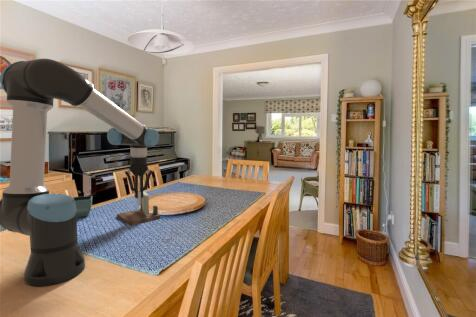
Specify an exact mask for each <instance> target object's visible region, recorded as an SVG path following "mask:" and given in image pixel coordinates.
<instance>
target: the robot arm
mask: <svg viewBox="0 0 476 317" xmlns="http://www.w3.org/2000/svg"><path fill="white" fill-rule="evenodd" d="M0 87H1V89H2V90H3V91H4V92H5V94H6V103H7V104H8V105H9V106H11V107H12V121H11V122H12V124H11V144H10V146H11V147H10V150H11V151H10V166H9V167H10V168H9V169H10V170H9V171H10V172H9V185H8V186H7V187H6V188H4V189H3V190H2V198H1V199H0V227H1V228H3V229H5V230H7V231H8V232H12V233H19V234H20V235H21V234H22V235H25V236H28V237H29V246H30V254H29V256H28V261H27V264H26V267H25V269H24V273H23V274H24V276H23V277H24V283H25V284H26V285H28V286H31V287H47V286H53V285H57V284H60V283H63V282H66V281H68V280H71V279H73V278H75V277H76V276H78V275H79V274H81V273H82V272H83V271H84V269H86V268H85V267H86V259H85V256H84V255H83V253H82V252H83V251H82V250H81V248H80V246H79V242H78V224H77V220H78V219H77V218H78V217H77V216H76V213H77V209H76V203H75V200H74V199H73V197H72V196H71V195H68V194H63V193H57V194H56V193H50V189H49V187H47V186H46V185H45V165H46V164H45V163H46V146H47V142H46V141H47V123H48V122H47V121H48V112H49V111H50V110H52V109H54V99H55V100H60V101H63V102H66V103H67V104H69V105H71V106H73V107H80V108H82V109H83V110H84V111H86V112H88V113H89V114H90V115H93V116H94V117H96V118H97V119H99V120H100V121H102V122H103V123H105V124H107V125H108V126H110V127H111V128H109V129H108V131H107V134H106V135H107V136H106V139H107V142H108V143H109V144H110V145H112V146H114V145H115V146H130V147H129V149H130V154H129V155H130V159H129V160H130V162H129V163H130V166H129V168H128V170H125V171H124V174H125V176H126V178H127V181H128V184H129V188H130V190H131V191H132V192H134V199H136V200H137V202H136V203H137V204H136V205H137V206H140V205H141V198H143V191H147V190H148V187H149V183H150V179H151V175H152V174H153V170H151V169H150V168H149V167H148V157H147V156H148V147H153V146H156V145H157V144H158V143H159V140H160V135H159V134H160V133H159V131H158V130H157V129H155V128H151V127H147V125H145V124H142V123H141V122H140V121H138V120H137V119H136V118H135V117H133V116H131V115H130V114H129V113H127V112H126V111H125V110H123V109H122V108H121V107H119V106H118V105H117V104H116V103H115V102H113V101H111V100H110V99H109V98H107V97H106V96H105V95H103V94H102V93H101V92H99V91H98V90H97V89H95V88H94V84H93V82H91V81H90V80H89V79H88V78H86V77H85V76H84V75H83V74H81V73H79V72H78V71H77V70H75V69H74V68H72V67H70V66H68V65H66V64H64V63H63V62H59V61H58V60H55V59H51V58H38V59H31V60H19V61H16V62H12V63H11V64H8V65H7V66H5V67H4V68H3V69H2V70H1V72H0ZM131 173H132V175H133V176H134V185H133V180H132V176H131ZM145 174H146V178H145V182H144V175H145Z"/></svg>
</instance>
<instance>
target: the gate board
mask: <svg viewBox="0 0 476 317" xmlns="http://www.w3.org/2000/svg"><path fill="white" fill-rule="evenodd" d="M139 206H140V209H135V210H130V211H125V212H120V213H117V214H116V218H118V219H120V220H121V221H123V222H125V223H126V224H128V225H129V226H134V225H138V224H142V223H146V222H150V221H154V220H159V219H161V214H159V208H158V205H153V206H152V212H153V213H149V215H145V214H144V212H143V210H142V198H141V205H139Z"/></svg>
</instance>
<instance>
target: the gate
mask: <svg viewBox="0 0 476 317" xmlns="http://www.w3.org/2000/svg"><path fill="white" fill-rule="evenodd" d="M149 196H150V195H149V194H148V193H147V192H146V190H144V191H143V198H142V210H143V212H144V214H145V215H149V210H150V209H149V208H150V203H149V201H150V200H149V198H150V197H149Z"/></svg>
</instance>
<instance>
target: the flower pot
mask: <svg viewBox="0 0 476 317" xmlns="http://www.w3.org/2000/svg"><path fill="white" fill-rule="evenodd" d="M72 198H73V199H74V200H75V203H76V209H77V213H76V216H77V218H80V217H81V218H82V217H88V216H90V213H91V210H92V206H93V195H86V196H82V195H81V196H73V197H72Z"/></svg>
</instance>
